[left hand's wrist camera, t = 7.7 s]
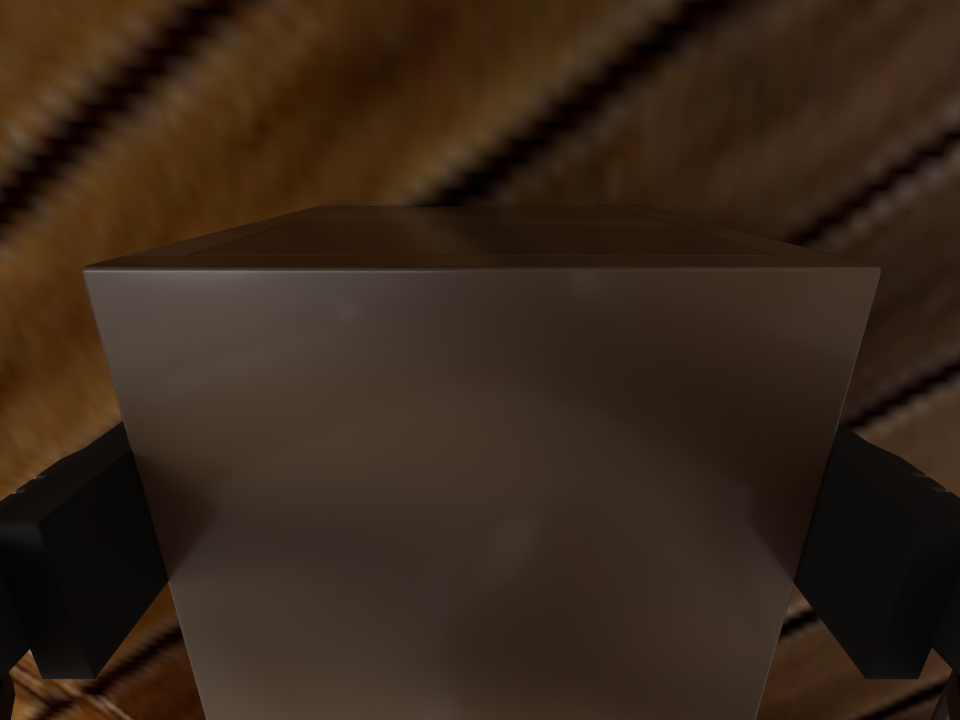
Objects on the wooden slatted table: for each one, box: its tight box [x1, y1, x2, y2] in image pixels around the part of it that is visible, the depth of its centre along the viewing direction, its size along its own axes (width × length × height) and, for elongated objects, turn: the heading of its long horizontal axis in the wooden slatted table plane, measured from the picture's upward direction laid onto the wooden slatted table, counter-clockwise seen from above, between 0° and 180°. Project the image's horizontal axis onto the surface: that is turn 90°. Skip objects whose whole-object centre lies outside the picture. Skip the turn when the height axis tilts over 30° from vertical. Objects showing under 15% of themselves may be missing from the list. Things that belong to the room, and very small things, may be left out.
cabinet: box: [82, 206, 881, 720], centre depth 15 cm, size 16×11×11 cm
